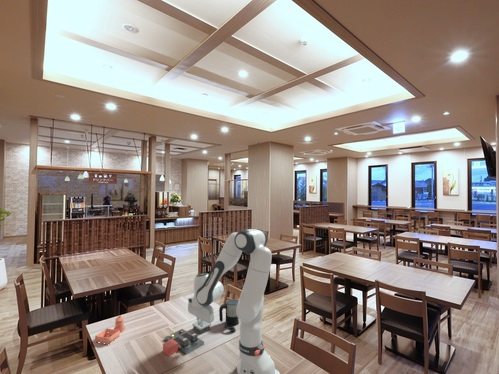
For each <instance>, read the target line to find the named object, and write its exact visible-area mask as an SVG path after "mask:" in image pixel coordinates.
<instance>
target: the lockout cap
mask: <svg viewBox="0 0 499 374" xmlns="http://www.w3.org/2000/svg"><path fill="white" fill-rule="evenodd" d="M162 352H163V353H164V354H165V355H167V356H168V357H170V356H172V355H174V354H175V353H177V352H179V350H178V343H177V342H176V341H174V340H173V339H171V340H169V341H165V342H163V343H162Z"/></svg>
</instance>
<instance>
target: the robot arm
mask: <svg viewBox="0 0 499 374" xmlns="http://www.w3.org/2000/svg"><path fill="white" fill-rule="evenodd" d="M268 241H269V237H268V234H267V232H265V231H264V230H263V229H260V228H256V229H254V228H249V229H242V230H239V231H236V232H232V233H230V235H228V237H227V239H226V240H225V242H224V243H223V246H222V248H221V250H220V252H219V255H218V256H217V259H216V261H215V262H214V264H213V266H212V268H211V269H210V272H209V273H207V272H201V273H199V274H197V275H195V276H194V280H193V281H194V282H193V296H191V297H188V298H187V299H188V300H187V311H188V313H189V314H191V315H193V316H194V317H196V322H197V321H198V325H200V326H203V322H204V321H205V322H207V323H211V324H212V323H213V322H214V321H215V312H214V308H213V307H212V305H211V304H212V303H214V302H215V301H216V300H218V299H219V298H221V296H222V295H223V294H224V292H225V287H224V285H223V283H222V282H221V281H220V279H221V278H222V277H223V275H225V274H226V273H227V272H228V271H230V270H231V269H232V268H233V267H234V266H235V265H237V263H238V261H240V260H239V259H240V258H241V255H242V253H243V254H245V255H250V259H249V265H248V268H247V273H246V277H245V280H244V283H243V287H242V290H241V293H240V296H239V299H238V301H239V302H238V305H237V309H236V314H237V317H238V318H239V321H240V325H239V328H240V329H239V342H238V349H239V353H238V354H239V355H238V361H237V366H236V373H237V374H281V373H280V371H279V370H278V369H276V366H275V362H274V360H273V359H272V356H270V354H268V353H267V351H266V350H265V348H266V344H263V340H262V325H263V324H262V323H263V315H264V304H265V303H264V301H265V300H264V299H265V296H264V295H265V291H266V287H267V284H268V280H269V275H270V271H271V266H272V258H273V257H272V256H273V255H272V251H271V249H269V247H266V245H267V244H268Z"/></svg>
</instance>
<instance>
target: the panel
mask: <svg viewBox="0 0 499 374" xmlns="http://www.w3.org/2000/svg"><path fill="white" fill-rule="evenodd" d="M191 334H192V333H190V332H188V331H187V330H186V329H183V328H181V329H179V330H177V331H175V332H173V333H170V334H169V335H166V336H165V337H164V338H163V339H164V341H165V342H167V341H169V340H171V339H173V340H174V341H176V342H177V343H178V351H179V352H181V353H183V354H184V355H188V354H189V353H191V352H193V351H195V350H197V349H198V348H200V347H202V346H204V345H205V341H204V340H202V339H200V338H198V337H197V340H196V341H194V342H193V341H191V340H190V335H191ZM185 337H186V338H187V339H189V345H187V346H185V347H184V346H182V345H181V339H183V338H185Z"/></svg>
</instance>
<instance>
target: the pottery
mask: <svg viewBox="0 0 499 374" xmlns="http://www.w3.org/2000/svg"><path fill="white" fill-rule="evenodd" d="M124 319H125V317H124V316H122V315H118V316H117V318H115V323H114V324H115V325H114V328H105V329H104V330H102V331H101V332H99V333H98V334H95V335H94V342H95V341H96V342H100V343H105V344H109V345H111V344H112V343H113V342H114V341H116V340H117V339H118V338H120V333H123V332H125V330H126V326H125V321H124ZM105 335H106V336H105ZM111 335H112V336H111ZM116 338H117V339H116ZM115 339H116V340H115ZM112 341H113V342H112ZM111 342H112V343H111ZM110 343H111V344H110Z"/></svg>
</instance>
